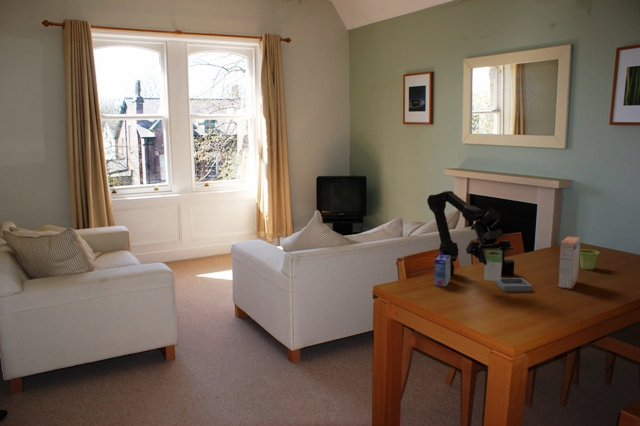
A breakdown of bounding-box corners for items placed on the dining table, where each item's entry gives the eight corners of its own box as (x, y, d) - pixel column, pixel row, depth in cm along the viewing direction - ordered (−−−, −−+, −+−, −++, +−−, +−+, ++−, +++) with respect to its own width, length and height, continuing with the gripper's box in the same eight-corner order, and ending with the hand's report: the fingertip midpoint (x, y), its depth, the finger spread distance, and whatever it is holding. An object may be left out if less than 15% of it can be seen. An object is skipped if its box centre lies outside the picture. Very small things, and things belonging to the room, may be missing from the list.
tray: (504, 291, 236) (504, 286, 235) (495, 283, 248) (495, 278, 247) (531, 291, 236) (532, 285, 235) (521, 283, 248) (522, 278, 247)
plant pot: (601, 269, 271) (603, 252, 270) (591, 271, 266) (592, 254, 265) (583, 265, 279) (584, 248, 277) (573, 267, 274) (574, 250, 272)
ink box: (500, 278, 234) (502, 248, 231) (500, 281, 230) (502, 250, 228) (484, 277, 236) (485, 247, 234) (483, 280, 232) (485, 249, 230)
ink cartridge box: (438, 279, 254) (439, 249, 252) (450, 281, 252) (451, 250, 250) (433, 285, 245) (434, 254, 243) (445, 286, 243) (446, 255, 241)
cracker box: (563, 279, 253) (567, 235, 250) (578, 281, 250) (581, 237, 246) (557, 287, 242) (560, 241, 238) (571, 289, 238) (575, 242, 235)
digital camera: (490, 275, 261) (491, 261, 260) (490, 272, 266) (491, 258, 265) (513, 277, 258) (514, 262, 257) (513, 273, 263) (513, 259, 262)
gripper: (470, 223, 231) (482, 255, 222) (510, 222, 235) (523, 253, 226) (461, 237, 240) (471, 269, 231) (499, 236, 244) (511, 266, 235)
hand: (494, 264), depth 230 cm, fingers closed on ink box, 8 cm apart
